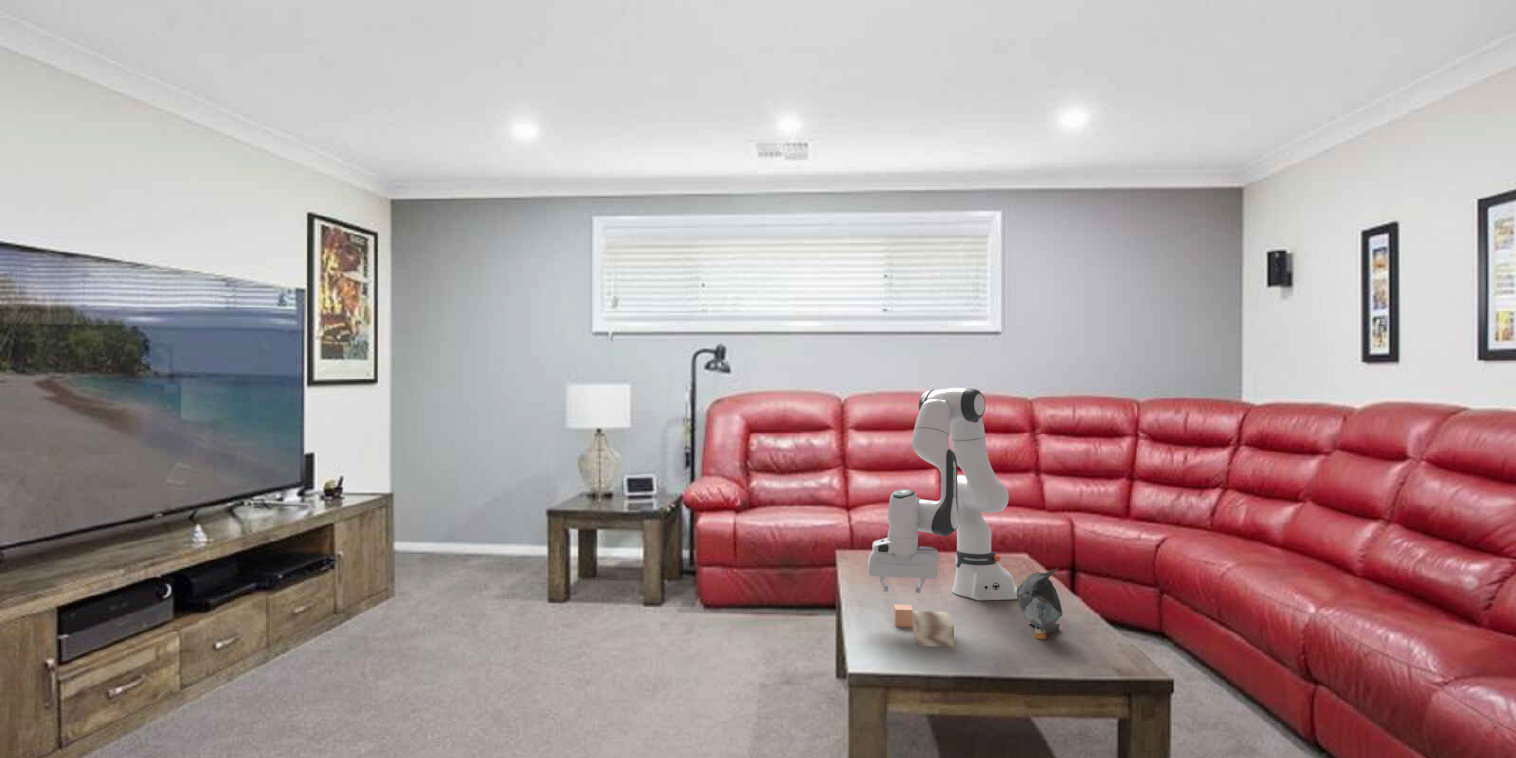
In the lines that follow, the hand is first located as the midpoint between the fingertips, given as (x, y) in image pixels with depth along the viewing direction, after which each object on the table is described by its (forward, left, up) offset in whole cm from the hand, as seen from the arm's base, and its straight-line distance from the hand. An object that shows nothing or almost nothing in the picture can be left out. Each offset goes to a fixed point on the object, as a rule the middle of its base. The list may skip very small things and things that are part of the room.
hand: (901, 592), depth 226 cm
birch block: (-8, +12, -10) cm, 17 cm away
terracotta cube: (-1, 0, -10) cm, 10 cm away
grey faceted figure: (-39, +6, -10) cm, 40 cm away
